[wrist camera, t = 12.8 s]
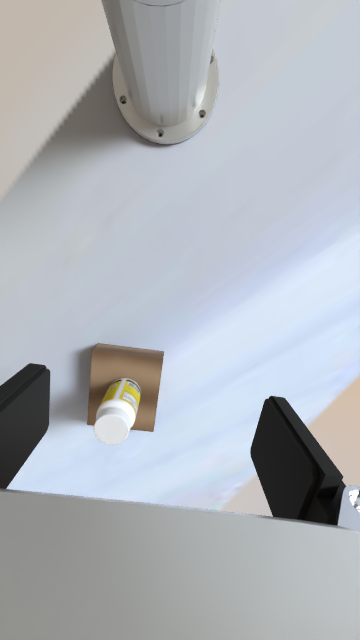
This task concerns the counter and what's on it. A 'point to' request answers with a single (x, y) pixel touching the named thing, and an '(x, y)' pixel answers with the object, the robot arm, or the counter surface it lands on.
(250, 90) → the counter surface
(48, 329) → the counter surface
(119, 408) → the supplement bottle
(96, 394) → the walnut base
